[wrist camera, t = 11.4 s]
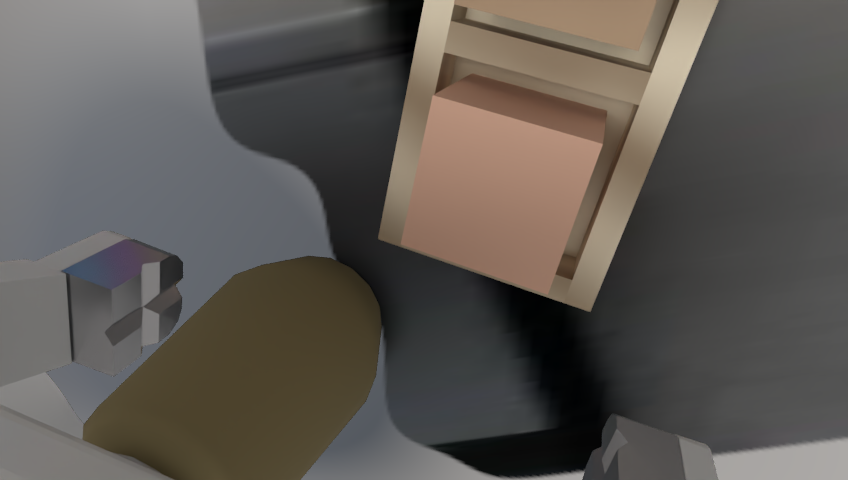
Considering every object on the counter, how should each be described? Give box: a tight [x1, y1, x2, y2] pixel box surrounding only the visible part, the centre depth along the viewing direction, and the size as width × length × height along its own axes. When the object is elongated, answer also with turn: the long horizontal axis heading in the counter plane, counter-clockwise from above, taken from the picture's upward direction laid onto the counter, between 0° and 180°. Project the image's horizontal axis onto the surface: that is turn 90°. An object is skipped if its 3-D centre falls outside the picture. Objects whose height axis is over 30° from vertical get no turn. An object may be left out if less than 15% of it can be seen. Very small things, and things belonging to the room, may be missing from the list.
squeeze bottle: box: [82, 256, 382, 480], centre depth 21 cm, size 8×8×18 cm
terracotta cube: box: [401, 73, 607, 295], centre depth 20 cm, size 5×5×5 cm
